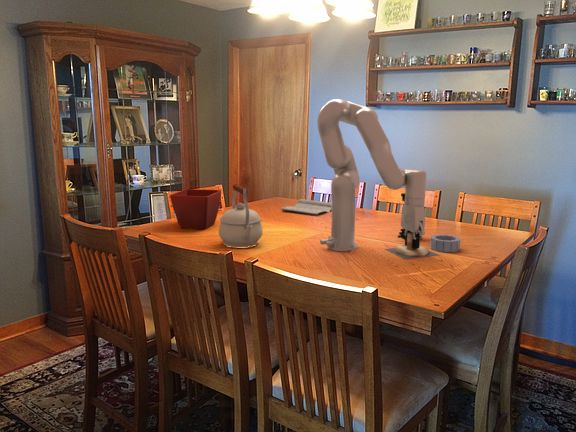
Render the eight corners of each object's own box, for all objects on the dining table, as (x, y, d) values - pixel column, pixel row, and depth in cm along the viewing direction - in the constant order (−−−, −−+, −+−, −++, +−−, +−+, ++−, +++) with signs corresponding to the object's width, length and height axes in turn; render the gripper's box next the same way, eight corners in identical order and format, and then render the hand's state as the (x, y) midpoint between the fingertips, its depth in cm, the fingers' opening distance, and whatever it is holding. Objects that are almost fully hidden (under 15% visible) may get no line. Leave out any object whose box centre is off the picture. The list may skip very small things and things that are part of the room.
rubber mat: (405, 260, 187) (405, 259, 187) (384, 250, 201) (384, 249, 201) (440, 256, 193) (440, 255, 192) (417, 246, 206) (417, 245, 206)
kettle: (213, 240, 216) (212, 183, 211) (254, 236, 222) (253, 181, 217) (227, 255, 193) (226, 192, 188) (272, 250, 199) (272, 189, 194)
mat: (280, 212, 277) (280, 204, 276) (301, 206, 297) (301, 198, 296) (317, 217, 265) (317, 208, 264) (336, 210, 285) (336, 202, 284)
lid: (407, 258, 188) (408, 238, 187) (388, 249, 200) (389, 230, 198) (435, 254, 193) (436, 235, 191) (415, 246, 205) (416, 228, 203)
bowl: (442, 254, 195) (443, 242, 194) (424, 247, 205) (425, 235, 204) (465, 252, 199) (466, 240, 198) (447, 245, 209) (447, 233, 208)
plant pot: (170, 229, 235) (168, 194, 231) (187, 221, 253) (186, 188, 249) (208, 232, 230) (207, 196, 227) (222, 223, 248) (222, 190, 245)
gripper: (394, 198, 199) (392, 242, 202) (419, 205, 183) (416, 253, 187) (410, 197, 201) (407, 241, 205) (436, 204, 186) (432, 251, 190)
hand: (411, 246), depth 196 cm, fingers closed on lid, 4 cm apart
